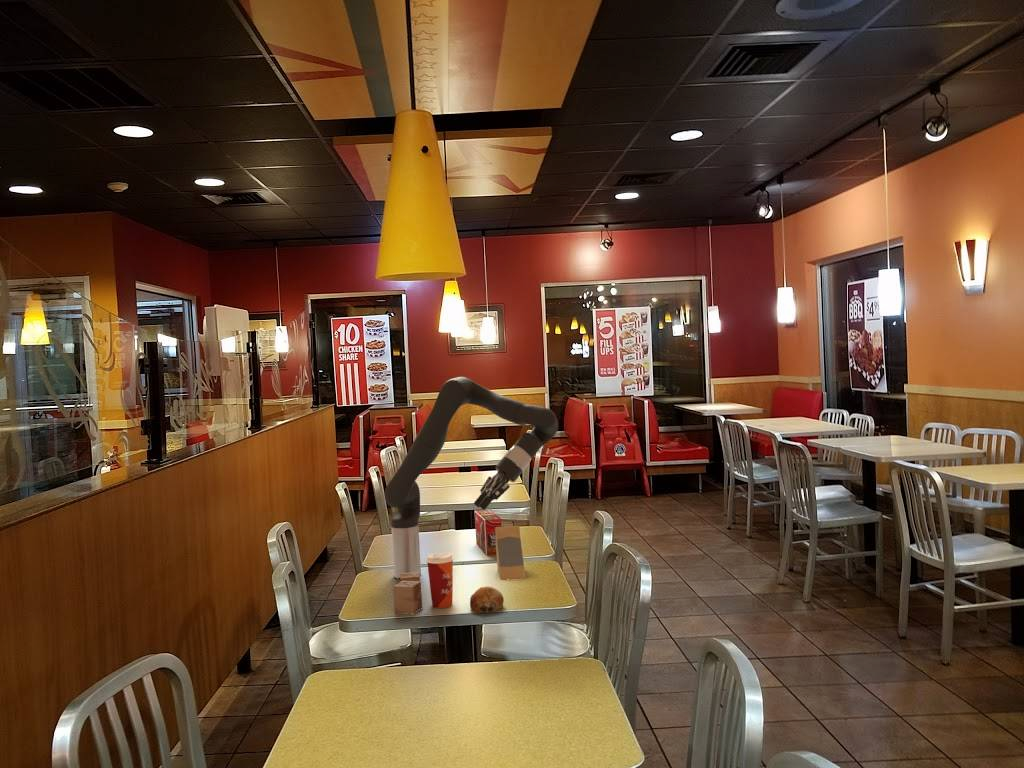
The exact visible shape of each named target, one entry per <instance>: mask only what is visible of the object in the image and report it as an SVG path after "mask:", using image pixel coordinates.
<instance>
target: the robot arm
mask: <svg viewBox="0 0 1024 768" xmlns="http://www.w3.org/2000/svg"><path fill="white" fill-rule="evenodd" d="M467 404H468V405H474V406H478V407H481V408H483V409H486V410H488V411H490V412H492V414H494V415H495V416H497V417H499V418H500V419H502V420H505V421H507V422H511V423H513V424H516V425H519V426H527V425H529V426H530V425H531V426H533V428H532V429H531V430H530V431H529V432H524V433H523V434H522V435H521V436H520V437H519V438H518V439H517V441H516V442H515V443H514V444H513V445H512V446H511V447H510V449H509V450H508V451H506V453H505V454H504V456H503V457H502V458H501V459H500V461H499V462H498V463H497V464H496V465H495V470H496V471H497V473H496V474H495V475H492V477H491V476H488V477H487V479H486V480H485V481H484V483H483V485H482V486H481V488H480V490H479V492H480V495H479V496H478V497H477V498H476V500H475V501H474V502H473V504H474V505H475V506H476V508H481V510H487V507H488V506H489V505H490V504H491V503H492V502H493V501H497V500H499V499H500V497H501V496H503V494H505V492H506V491H507V490H508V489H510V485H509V482H511V483H515V482H516V481H517V480H518V478H519V477H520V476H521V474H522V473H523V472H524V471H525V470H526V469H527V467H528V466H529V464H530V462H531V460H533V458H534V457H535V455H537V453H538V452H539V451H540V450H541V448H542V447H544V446H545V445H546V444H547V443H548V442H549V441H550V440H552V438H554V436H555V435H556V434H557V432H558V429H559V422H558V418H557V416H556V414H555V412H554V411H553V410H551V409H550V408H547V407H544V406H540V405H535V404H527V403H525V402H522V401H519V400H517V399H513V398H510V397H507V396H505V395H502V394H499V393H497V392H495V391H492V390H490V389H488V388H486V387H484V386H482V385H480V384H479V383H477V382H475V381H473V380H471V379H470V378H468V377H465V376H457V377H453V378H450V379H448V380H446V381H445V382H444V383H443V384H442V385H441V387H440V390H439V392H438V394H437V397H436V399H435V402H434V405H433V407H432V409H431V411H430V413H429V414H428V416H427V418H426V420H425V421H424V423H423V425H422V427H421V428H420V430H419V432H418V433H417V435H416V436H415V438H414V440H413V443H412V444H411V447H410V448H409V450H408V452H407V454H406V455H405V458H404V459H403V461H402V463H401V464H400V466H399V467H398V470H397V471H396V472H395V474H394V475H393V476H392V477H391V479H390V480H389V482H388V484H387V486H386V488H385V490H384V499H385V503H386V504H387V505H388V507H391V508H394V509H395V508H397V510H396V512H395V514H394V515H393V516H392V518H391V519H390V525H391V543H392V544H391V545H392V562H393V563H392V564H393V577H394V578H395V579H399V578H400V573H409V572H419V573H420V576H421V575H422V571H421V569H422V567H421V549H420V534H419V533H420V527H419V519H420V515H421V492H420V488H419V487H420V486H419V485H418V483H417V479H418V477H420V475H421V474H423V472H424V471H426V470H427V468H428V467H429V466H430V465H431V464H433V462H434V461H436V458H438V455H439V454H440V452H441V450H442V448H443V447H444V445H445V442H446V439H447V436H448V428H449V426H450V423H451V420H452V419H453V417H454V416H455V414H456V413H457V411H458V410H459V409H460V408H461V407H462V406H464V405H467Z"/></svg>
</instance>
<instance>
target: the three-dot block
mask: <svg viewBox="0 0 1024 768" xmlns="http://www.w3.org/2000/svg"><path fill="white" fill-rule="evenodd" d="M393 598H394V599H393V600H394V601H393V603H394V614H398V613H415V612H416V611H418V610H419V609H420V610H422V609H423V595H422V581H421V580H420V581H401V582H400V581H399V583H397V584H394V585H393ZM421 608H422V609H421ZM420 610H419V611H420ZM419 611H418V612H419ZM416 613H417V612H416ZM416 613H415V614H416Z"/></svg>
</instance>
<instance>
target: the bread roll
mask: <svg viewBox="0 0 1024 768" xmlns="http://www.w3.org/2000/svg"><path fill="white" fill-rule="evenodd" d="M504 600H505V599H504V596H503V593H502V592H501V591H500V590H499V589H497V588H494V587H493V586H482V587H479V588H478V589H476V590H475V592H474V593H473V594H472V595H470V599H469V606H470V609H471V611H472V610H473V611H472V612H475V613H481V614H482V613H484V614H486V613H494V612H496V611H499V610H501V609H502V608H503V607H504Z"/></svg>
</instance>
